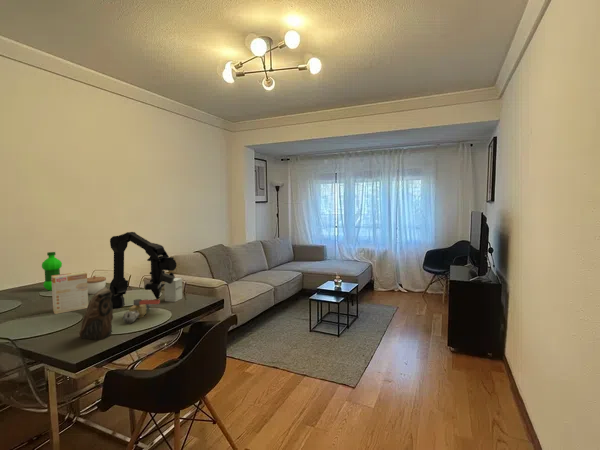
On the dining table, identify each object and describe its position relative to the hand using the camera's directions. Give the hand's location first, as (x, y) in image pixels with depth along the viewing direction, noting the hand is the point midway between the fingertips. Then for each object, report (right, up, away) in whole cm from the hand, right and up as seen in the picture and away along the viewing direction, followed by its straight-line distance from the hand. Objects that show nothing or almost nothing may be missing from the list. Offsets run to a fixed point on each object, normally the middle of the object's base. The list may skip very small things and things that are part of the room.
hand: (157, 298), depth 170 cm
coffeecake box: (-49, -7, +4) cm, 49 cm away
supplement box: (0, -6, +22) cm, 23 cm away
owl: (-13, -9, -30) cm, 34 cm away
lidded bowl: (-57, -5, +37) cm, 68 cm away
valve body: (-8, -7, -6) cm, 12 cm away
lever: (-3, -1, -6) cm, 7 cm away
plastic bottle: (-90, -4, +45) cm, 101 cm away
